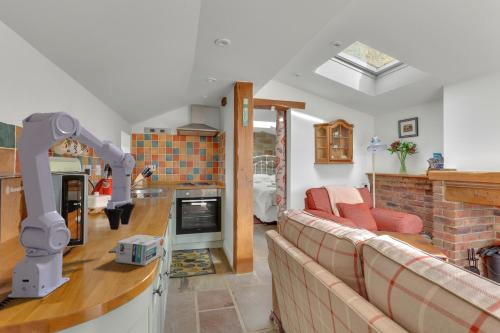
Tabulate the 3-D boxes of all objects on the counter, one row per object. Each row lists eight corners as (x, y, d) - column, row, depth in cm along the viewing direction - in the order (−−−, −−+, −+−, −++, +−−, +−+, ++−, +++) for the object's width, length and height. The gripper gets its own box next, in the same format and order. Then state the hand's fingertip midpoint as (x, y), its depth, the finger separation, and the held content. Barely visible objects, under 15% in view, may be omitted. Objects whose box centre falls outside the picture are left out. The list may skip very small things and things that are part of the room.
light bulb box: (114, 262, 79) (145, 266, 77) (116, 241, 79) (146, 244, 77) (136, 252, 89) (163, 255, 87) (137, 233, 89) (164, 236, 87)
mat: (134, 252, 89) (134, 251, 89) (108, 252, 88) (108, 251, 88) (146, 242, 101) (146, 241, 101) (124, 242, 100) (124, 241, 100)
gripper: (119, 185, 93) (117, 222, 93) (97, 188, 78) (96, 231, 78) (138, 186, 93) (137, 222, 93) (120, 189, 79) (119, 232, 79)
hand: (119, 226), depth 86 cm, fingers open, 7 cm apart
